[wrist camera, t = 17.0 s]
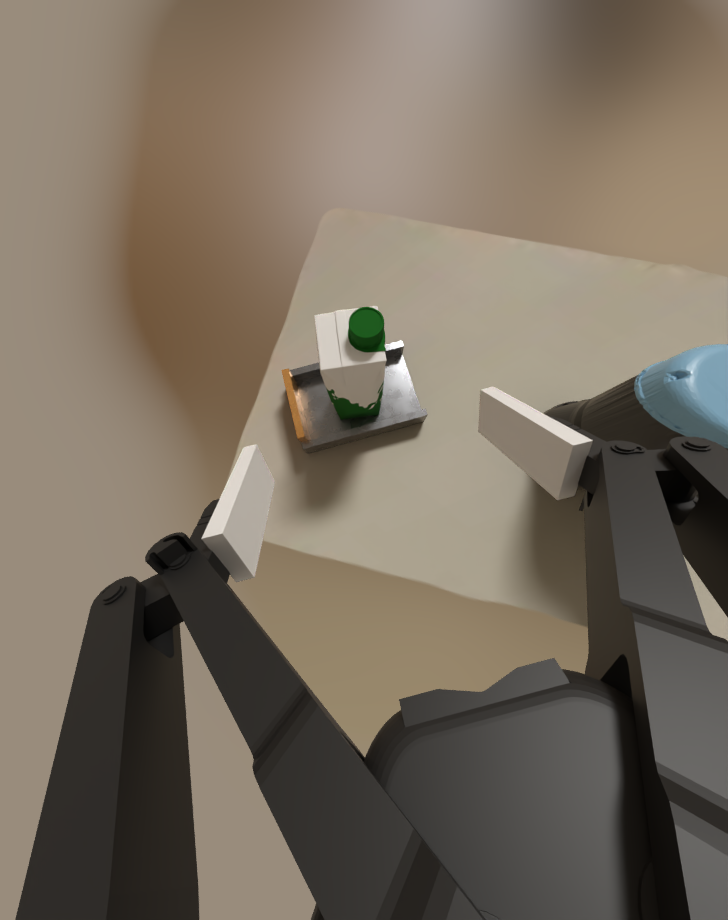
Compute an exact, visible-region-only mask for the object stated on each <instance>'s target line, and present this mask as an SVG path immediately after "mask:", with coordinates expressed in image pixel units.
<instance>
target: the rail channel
mask: <svg viewBox="0 0 728 920" xmlns="http://www.w3.org/2000/svg"><path fill="white" fill-rule="evenodd" d="M403 348H404V345H403V342H402V341H398V342H394V343H391V344H387V345H385V349H386V351H385V354H386V360H387V361H386V364H385V374H384V385H383V395H382V401H381V406H380V412H379V415H372V416H365V417H357V418H350V419H343V420H341V419H340V417H339V415H338V414H337V412H336V410H335V408H334V406H333V404H332V402H331V400H330V397H329V395H328V392H327V389H326V386H325V384H324V381H323V378H322V376H321V373H320V366H319V363H316V364H312V365H308V366H304V367H301V368H297V369H293V370H289V369H284V370H282V374H283V379H284V383H285V387H286V391H287V396H288V400H289V404H290V408H291V413H292V417H293V421H294V426H295V430H296V434H297V438H298V439H299V440H300V441H301V442H302V447H303V449H304V450H305V451H306V452H307V453H312V452H315V451H319V450H323V449H326V448H330V447H334V446H337V445H341V444H344V443H348V442H352V441H355V440H359V439H363V438H366V437H370V436H374V435H377V434H381V433H384V432H388V431H392V430H395V429H399V428H403V427H406V426H410V425H414V424H417V423H421V422H424V420H425V418H426V417H427V412H426V409H422V410H421V408H420V405H419V402H418V399H417V396H416V393H415V390H414V387H413V384H412V381H411V378H410V375H409V372H408V369H407V366H406V364H405V361H404V358H403V355H402V353H403Z"/></svg>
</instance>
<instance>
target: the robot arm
mask: <svg viewBox="0 0 728 920" xmlns="http://www.w3.org/2000/svg"><path fill="white" fill-rule="evenodd" d="M478 432H479V433H481V434H482V435H483V436H484V437H485V438H486V439H487V440H489V441H490V442H491V443H492V444H493V445H494V446H496V447H497V448H498V449H499V450H500V451H501V452H502V453H504V454H505V455H506V456H507V457H508V458H509V459H510V460H512V461H513V462H514V463H515V464H516V465H517V466H519V467H520V468H521V469H522V470H523V471H524V472H525V473H527V474H528V475H529V476H530V477H531V478H532V479H533V480H535V481H536V482H537V483H538V484H539V485H540V486H542V487H543V488H544V489H545V490H546V491H547V492H548V493H550V494H551V495H552V496H553V497H554V498H555V499H556V500H561V499H565V498H569V497H573V496H575V494H576V491H577V489H585V490H586V492H585V495H584V498H583V500H582V503H581V506H580V509H579V510H580V511H583V508H584V521H585V551H586V580H587V610H588V639H589V654H588V661H587V665H586V670H585V674H582V673H578V672H574V671H570V670H564V669H561V668H560V666H559V665H558V663H557V662H556V660H555V659H554V658H552V659H548V660H545V661H541V662H537V663H533V664H530V665H526V666H522V667H518V668H516V669H515V670H513V671H512V672H510V673H509V674H508V675H506V676H505V677H503V678H502V679H501V680H499V681H498V682H497V683H495V684H494V685H492V686H491V687H490V688H488V689H487V690H485V691H483V692H470V691H456V690H442V689H436V690H433V691H429V692H425V693H421V694H418V695H414V696H410V697H406V698H403V699H399V701H400V706H401V710H400V711H399V712H397V713H396V714H394V715H393V716H392V717H391V718H390V719H389V720H388V721H387V722H386V723H385V724H384V726H383V727H382V728H381V730H380V731H379V732H378V734H377V735H376V737H375V739H374V740H373V742H372V744H371V746H370V748H369V750H368V753H367V754H366V757H364V756H363V755H362V753H361V752H360V751H359V750H358V748H357V747H356V746H355V744H354V743H353V742H352V741H351V739H350V738H349V737H348V736H347V734H346V733H345V732H344V731H343V730H342V729H341V727H340V726H339V725H338V723H337V722H336V721H335V720H334V718H333V717H332V716H331V715H330V713H329V712H328V711H327V710H326V708H325V707H324V706H323V705H322V703H321V702H320V701H319V699H318V698H317V697H316V696H315V695H314V693H313V692H312V691H311V690H310V688H309V687H308V686H307V684H306V683H305V682H304V680H303V679H302V678H301V677H300V675H299V674H298V673H297V672H296V671H295V669H294V668H293V666H292V665H291V664H290V663H289V661H288V660H287V659H286V658H285V656H284V655H283V654H282V652H281V651H280V650H279V649H278V648H277V646H276V645H275V644H274V642H273V641H272V640H271V638H270V637H269V636H268V635H267V633H266V632H265V631H264V630H263V628H262V627H261V626H260V625H259V623H258V622H257V621H256V620H255V618H254V617H253V616H252V614H251V613H250V612H249V611H248V609H247V608H246V607H245V606H244V604H243V603H242V602H241V601H240V599H239V598H238V597H237V595H236V594H235V593H234V592H233V590H232V589H231V588H230V587H229V585H228V584H227V581H228V578H229V575H231V576H232V578H233V579H234V580H235V581H236V582H239V581H243V580H247V579H251V578H254V577H255V573H256V568H257V563H258V559H259V554H260V550H261V545H262V540H263V536H264V531H265V526H266V522H267V517H268V512H269V508H270V503H271V498H272V494H273V489H274V484H275V481H274V479H273V477H272V474H271V472H270V470H269V468H268V466H267V464H266V462H265V460H264V458H263V456H262V454H261V452H260V450H259V448H258V446H257V444H256V445H252V446H248V447H244V448H243V450H242V452H241V454H240V456H239V458H238V461H237V463H236V465H235V467H234V469H233V471H232V474H231V476H230V478H229V480H228V482H227V484H226V487H225V489H224V491H223V493H222V495H221V497H220V499H218V500H214V501H212V502H211V503H210V504H209V505H208V506H207V507H206V508H205V510H204V512H203V514H202V516H201V519H200V520H199V522H198V524H197V526H196V528H195V529H194V531H193V533H192V535H191V537H190V539H189V538H188V537H187V535H186V534H184V533H182V532H181V533H174V534H171V535H168V536H166V537H164V538H163V539H161V540H160V541H159V542H157V543H156V544H154V545H153V547H152V548H151V549H150V550H149V551H148V553H147V555H146V557H145V560H146V562H147V563H148V564H149V565H150V566H151V567H152V568H153V569H154V570H155V571H156V572H157V573H158V574H157V575H155V576H152V577H150V578H148V579H147V580H144V581H142V582H139V581H138V580H137V579H135V578H134V577H131V576H130V577H124V578H122V579H119V580H117V581H115V582H114V583H112V584H111V585H109V586H108V587H106V588H105V589H104V590H103V591H102V592H101V593H100V594H99V595H98V596H97V597H96V599H95V600H94V602H93V604H92V606H91V609H90V613H89V617H88V621H87V625H86V629H85V634H84V638H83V642H82V646H81V650H80V654H79V658H78V663H77V667H76V671H75V675H74V679H73V684H72V687H71V692H70V696H69V700H68V704H67V708H66V713H65V717H64V721H63V725H62V729H61V733H60V737H59V741H58V745H57V750H56V754H55V759H54V762H53V767H52V770H51V775H50V779H49V783H48V787H47V791H46V795H45V799H44V804H43V808H42V812H41V816H40V820H39V824H38V828H37V832H36V837H35V841H34V845H33V849H32V853H31V857H30V862H29V866H28V870H27V874H26V878H25V883H24V887H23V891H22V895H21V899H20V903H19V907H18V911H17V915H16V920H199V898H198V897H199V896H198V877H197V862H196V848H195V834H194V820H193V806H192V793H191V778H190V764H189V750H188V736H187V722H186V708H185V695H184V680H183V665H182V651H181V638H180V623H181V622H183V621H184V622H185V624H186V626H187V628H188V630H189V632H190V634H191V636H192V638H193V640H194V641H195V643H196V645H197V647H198V649H199V651H200V653H201V655H202V657H203V659H204V661H205V663H206V665H207V667H208V669H209V671H210V672H211V674H212V676H213V678H214V680H215V682H216V684H217V686H218V688H219V690H220V692H221V693H222V696H223V698H224V700H225V702H226V703H227V705H228V707H229V709H230V711H231V713H232V715H233V717H234V719H235V721H236V723H237V725H238V727H239V729H240V731H241V733H242V735H243V736H244V738H245V740H246V742H247V744H248V746H249V748H250V750H251V752H252V755H253V758H254V762H253V771H254V775H255V778H256V780H257V783H258V785H259V787H260V790H261V792H262V794H263V796H264V797H265V800H266V802H267V804H268V806H269V808H270V810H271V812H272V814H273V816H274V818H275V820H276V822H277V824H278V826H279V828H280V830H281V832H282V834H283V836H284V838H285V840H286V842H287V844H288V846H289V848H290V850H291V852H292V855H293V856H294V858H295V861H296V863H297V865H298V867H299V869H300V871H301V873H302V875H303V877H304V879H305V881H306V883H307V885H308V887H309V889H310V891H311V893H312V895H313V897H314V899H315V901H316V906H315V909H314V912H313V915H312V918H311V920H728V641H727V640H726V639H723V638H720V637H717V636H714V635H712V634H711V633H710V632H709V630H708V628H707V626H706V623H705V620H704V617H703V614H702V611H701V608H700V605H699V602H698V599H697V596H696V593H695V590H694V587H693V584H692V581H691V578H690V575H689V572H688V569H687V566H686V563H685V560H684V557H685V558H686V559H687V561H688V562H689V564H690V565H691V566H692V568H693V569H694V571H695V572H696V573H697V575H698V576H699V578H700V579H701V580H702V582H703V583H704V585H705V586H706V587H707V589H708V590H709V592H710V593H711V594H712V596H713V597H714V599H715V600H716V602H717V603H718V604H719V606H720V607H721V609H722V610H723V611H724V613H725V614H726V616H727V617H728V344H717V345H707V346H701V347H697V348H693V349H690V350H687V351H685V352H682V353H680V354H678V355H676V356H674V357H672V358H670V359H668V360H665V361H662V362H658V363H656V364H653V365H651V366H649V367H648V368H646V369H644V370H643V371H642V372H641V373H640V374H639V375H637V376H635V377H633V378H631V379H629V380H627V381H625V382H623V383H621V384H619V385H617V386H615V387H613V388H611V389H609V390H607V391H605V392H603V393H601V394H600V395H598V396H596V397H594V398H592V399H588V400H582V401H579V402H577V401H576V402H567V403H563V404H560V405H557V406H555V407H553V408H551V409H549V410H548V411H546V412H544V413H541V412H539V411H537V410H536V409H534V408H532V407H530V406H528V405H526V404H525V403H523V402H521V401H519V400H517V399H515V398H513V397H512V396H510V395H508V394H506V393H504V392H502V391H501V390H499V389H497V388H495V387H489V388H485V389H481V390H480V407H479V427H478ZM683 555H684V557H683Z"/></svg>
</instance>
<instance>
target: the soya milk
mask: <svg viewBox="0 0 728 920" xmlns="http://www.w3.org/2000/svg"><path fill="white" fill-rule="evenodd" d="M315 326H316V337H317V348H318V358H319V366H320V373H321V376H322V378H323V381H324V384H325V386H326V389H327V392H328V395H329V397H330V400H331V402H332V404H333V406H334V408H335V410H336V412H337V414H338V415H339V417H340V419H341V420H343V419H350V418H357V417H365V416H372V415H379V412H380V406H381V401H382V395H383V385H384V374H385V364H386V361H387V360H386V354H385V351H386V349H385V331H384V318H383V316H382V314H381V313H380V312H379V311H378V307H377V306H372V307H362V308H356V309H349V310H337V311H335V312H333V313H326V314H319V315H315Z"/></svg>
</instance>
